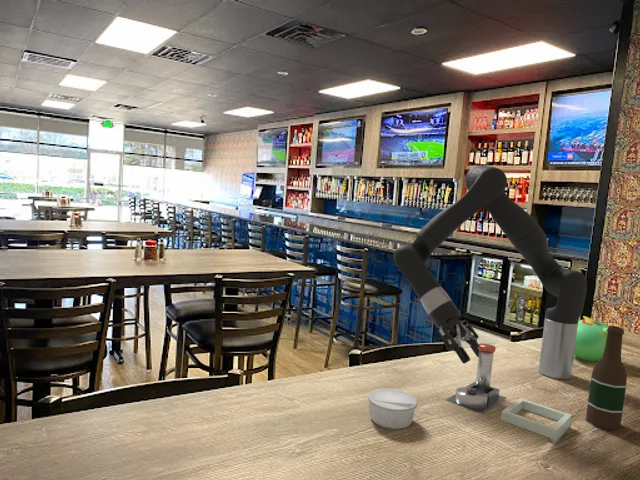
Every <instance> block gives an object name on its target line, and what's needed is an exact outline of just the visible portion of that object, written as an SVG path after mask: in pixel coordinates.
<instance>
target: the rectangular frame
mask: <svg viewBox="0 0 640 480" xmlns="http://www.w3.org/2000/svg"><path fill="white" fill-rule="evenodd" d="M521 410H524V411H527V412H531V413H534V414H536V415H538V416H542V417H545V418H547V419H551V420H554V421H557V422H556V423H555V424H554V425H553V426H550V425H547V424H544V423H541V422H539V421H537V420H533V419H531V418H528V417H525V416H521V415H520V414H517V413H519V412H520V411H521ZM500 414H501V415H500V420H501V421H503V422H505V423H508V424H512V425H514V426H517V427H519V428H521V429H525V430H527V431H530V432H532V433H536V434H538V435H541V436H544V437H547V438H549V439H548V440H547V442H548V443H550V444H553V445H555V444H557V442H558V441H560V439H561V438H562V437H563V436H564V435H565V433H566V432H568V431H569V429H570V428H571V423H572V418H573V417H572V414H570V413H567V412H564V411H560V410H558V409H555V408H551V407H548V406H545V405H543V404H541V403H536V402H534V401H531V400H528V399H524V398H521V397H520V398H518V399H516V401H514V402H512V403H511V404H510V405H509V406H507V407H505V408H504V409H503V410H502V411H501V413H500Z"/></svg>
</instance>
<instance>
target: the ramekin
mask: <svg viewBox="0 0 640 480" xmlns="http://www.w3.org/2000/svg"><path fill="white" fill-rule="evenodd" d="M367 401H368V406H369V407H368V408H369V409H368V410H369V416H370V418H371V420H372V421H373V422H374V424H376V425H378V426H380V427H382V428H386V429H391V430H402V429H405V428H407V427H409V426H410V425H411V424H412V422H413V419H414V416H415V412H416V409H417V407H418V400H417V399H416V397H415V396H413V395H412V394H410V393H408V392H406V391H404V390H400V389H395V388H387V387H385V388H375V389H373V390H372V391H370V392H369V393H368V396H367Z"/></svg>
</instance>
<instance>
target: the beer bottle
mask: <svg viewBox="0 0 640 480" xmlns="http://www.w3.org/2000/svg"><path fill="white" fill-rule="evenodd" d="M620 327H621V326H616V325H615V326H614V325H609V326H608V329H607V331H608V335H607V340H606V344H605V349H604V353H603V356H602V358H601V359H600V360H599V361H596V363H595V365H594V367H593V369H592V373H591V378H590V382H589V383H590V384H589V390H588V391H589V392H588V398H587V400H588V401H587V407H586V414H585V415H586V416H585V421H586V422H587V423H589V424H590V425H592V426H593V427H596V428H598V429H599V428H600V429H603V430H606V431H619V430H620V428H621V424H622V419H623V418H622V417H623V410H624V403H625V397H626V395H625V394H626V389H627V382H628V380H627V379H628V376H627V375H628V374H627V369H626V367H625V365H624V364H623V362H622V347H623V335H624V334H625V330H624V329H623V328H624V327H623V328H620Z"/></svg>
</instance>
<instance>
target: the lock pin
mask: <svg viewBox="0 0 640 480" xmlns="http://www.w3.org/2000/svg"><path fill="white" fill-rule="evenodd" d="M478 344H479V345H478V349H479V357H477V359H478V360H477V368H476V378H475V382H476V385H475V389H478V390H481V391H483V392H485V393H489V389H490V386H491V380H492V379H491V378H492V371H493V370H492V369H493V363H494V353H495V352H496V349H497V348H496V346H495V345H493V344H489V343H478Z"/></svg>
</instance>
